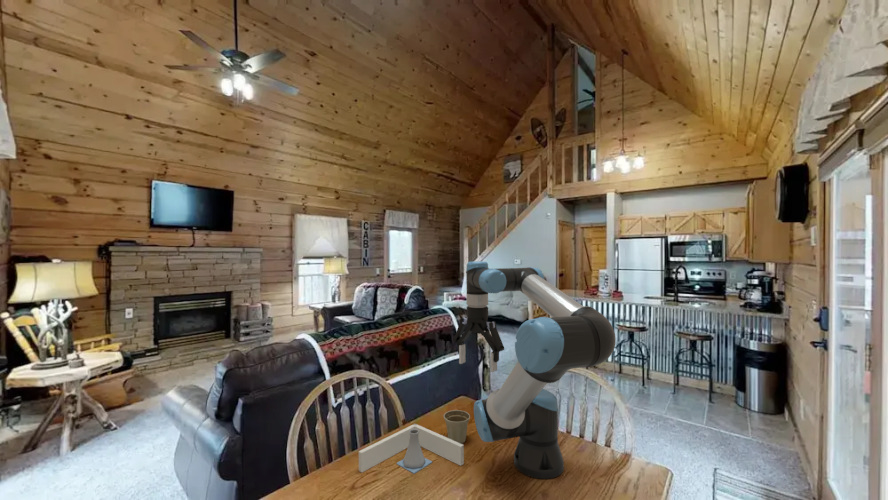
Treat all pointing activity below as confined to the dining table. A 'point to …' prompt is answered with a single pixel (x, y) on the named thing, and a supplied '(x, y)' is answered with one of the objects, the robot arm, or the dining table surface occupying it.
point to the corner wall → (401, 441)
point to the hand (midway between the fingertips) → (477, 366)
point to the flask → (414, 451)
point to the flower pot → (457, 425)
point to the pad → (414, 468)
